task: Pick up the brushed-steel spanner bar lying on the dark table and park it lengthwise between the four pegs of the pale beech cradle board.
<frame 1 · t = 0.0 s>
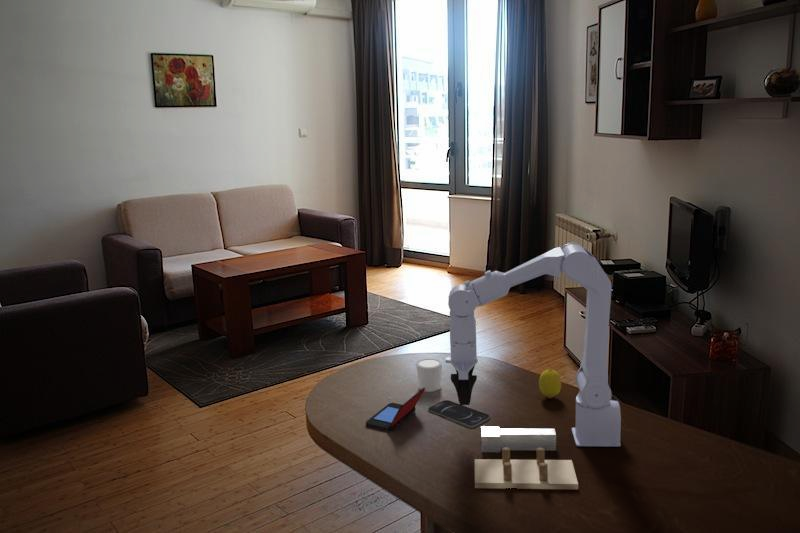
hand: (464, 396, 152), 10 cm above the table, tool pointing down, fingers open, 7 cm apart
peg cradle: (524, 476, 137), on the table
lemon: (549, 398, 172), on the table
white cylinder: (430, 387, 182), on the table
smartphone: (458, 416, 166), on the table
handheld game console: (396, 421, 165), on the table
spanner bar: (525, 447, 149), on the table
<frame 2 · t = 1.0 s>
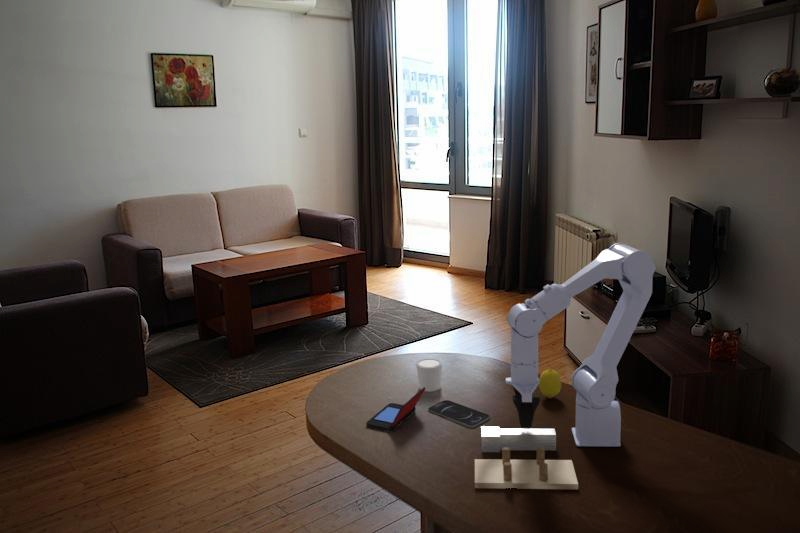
hand: (524, 418, 147), 7 cm above the table, tool pointing down, fingers open, 7 cm apart
nothing on the table moved.
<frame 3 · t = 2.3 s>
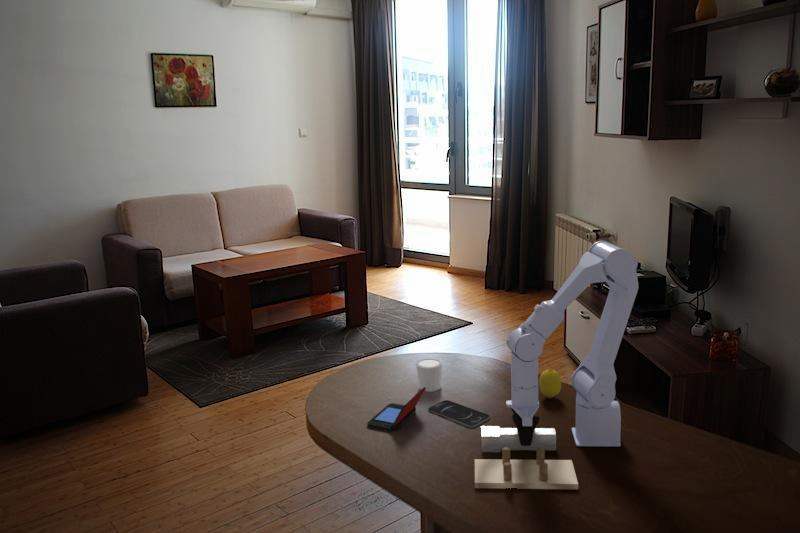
hand: (525, 441, 149), 1 cm above the table, tool pointing down, fingers closed on spanner bar, 3 cm apart
spanner bar: (525, 446, 149), on the table, touching gripper
everything else where it was.
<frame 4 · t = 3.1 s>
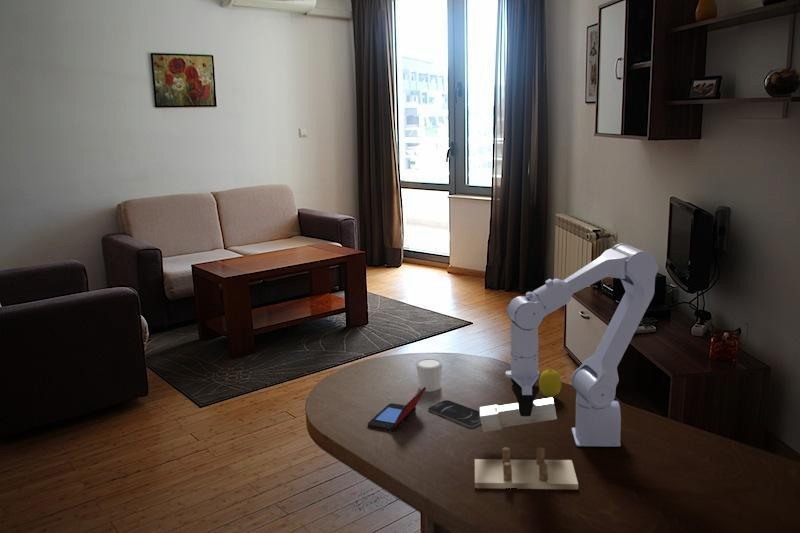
hand: (524, 412, 147), 8 cm above the table, tool pointing down, fingers closed on spanner bar, 3 cm apart
spanner bar: (526, 420, 147), point 6 cm above the table, tilted 10°, touching gripper
everything else where it was.
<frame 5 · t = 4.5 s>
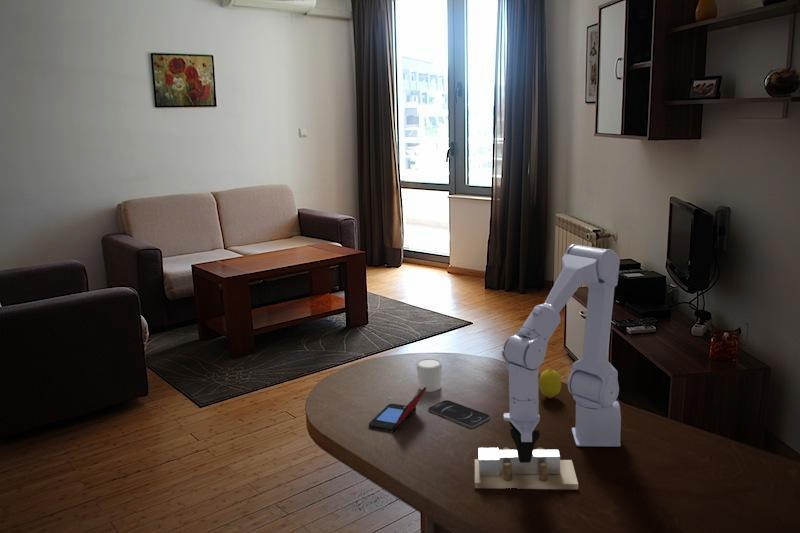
hand: (524, 457, 136), 4 cm above the table, tool pointing down, fingers closed on spanner bar, 3 cm apart
spanner bar: (526, 470, 137), point 1 cm above the table, touching gripper, peg cradle
everything else where it was.
when the fingers open (4 cm above the table, at t = 4.8 s): spanner bar stays where it is, resting on peg cradle.
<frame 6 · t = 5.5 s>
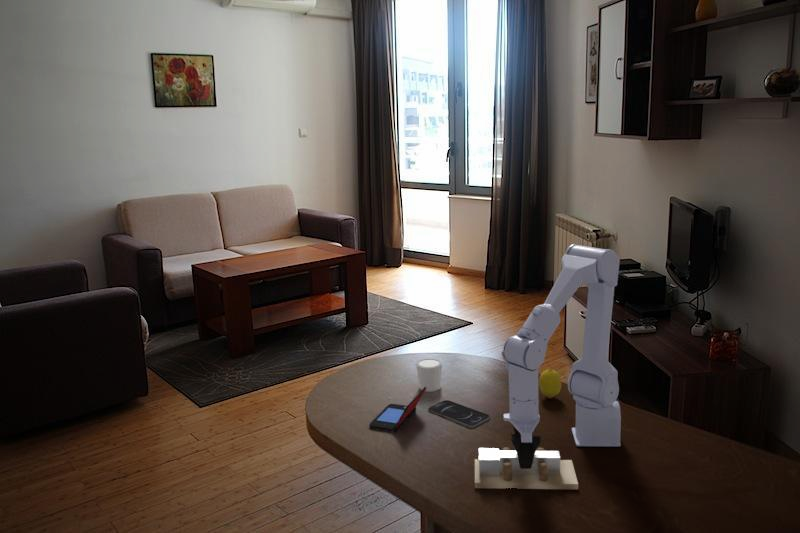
hand: (524, 457, 136), 4 cm above the table, tool pointing down, fingers open, 7 cm apart
spanner bar: (526, 471, 137), point 1 cm above the table, touching peg cradle
everything else where it was.
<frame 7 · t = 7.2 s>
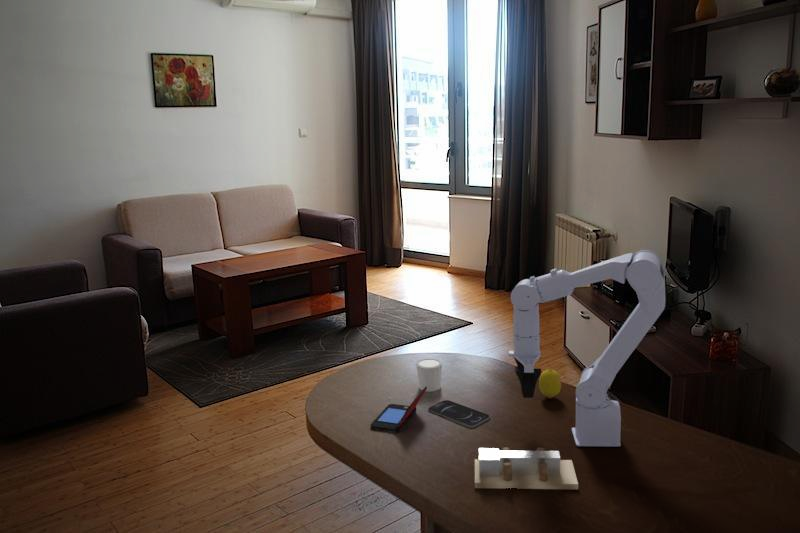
hand: (526, 390, 154), 10 cm above the table, tool pointing down, fingers open, 7 cm apart
nothing on the table moved.
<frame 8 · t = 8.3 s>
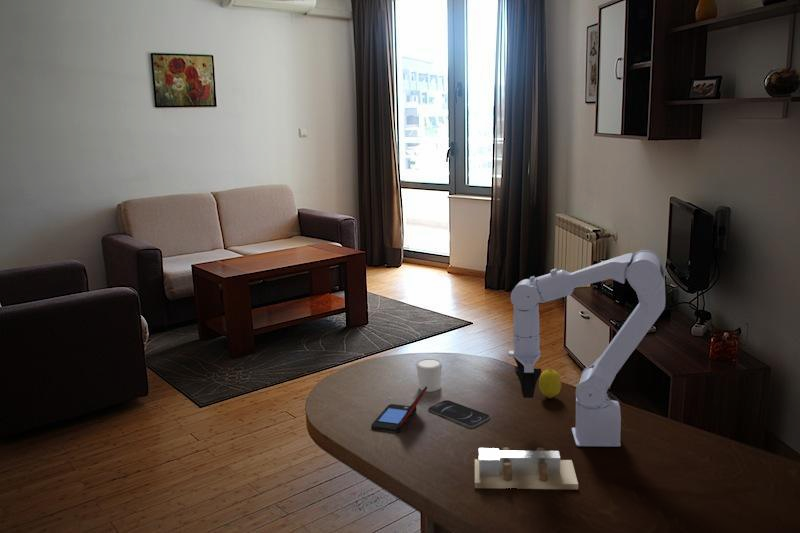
hand: (526, 390, 154), 10 cm above the table, tool pointing down, fingers open, 7 cm apart
at the end: spanner bar 0.5 cm off-centre on the peg cradle, point 1.2 cm above the peg cradle's base; spanner bar tilted 0°; the gripper is holding nothing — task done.
